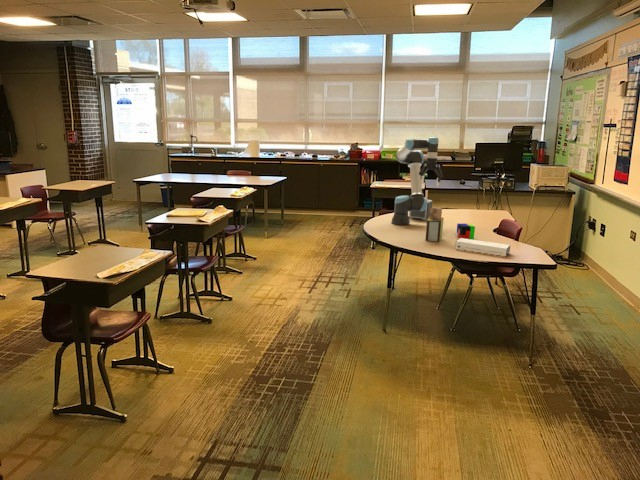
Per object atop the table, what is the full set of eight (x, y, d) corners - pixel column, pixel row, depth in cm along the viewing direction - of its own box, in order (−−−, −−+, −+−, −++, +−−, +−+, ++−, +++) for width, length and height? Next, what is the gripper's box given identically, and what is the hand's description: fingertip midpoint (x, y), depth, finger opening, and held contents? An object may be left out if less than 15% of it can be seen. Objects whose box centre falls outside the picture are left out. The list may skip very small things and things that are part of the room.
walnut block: (429, 218, 369) (430, 208, 367) (434, 217, 373) (434, 207, 371) (436, 219, 365) (437, 209, 363) (441, 218, 369) (442, 208, 367)
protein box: (442, 237, 378) (443, 217, 374) (439, 242, 364) (441, 221, 360) (428, 236, 381) (429, 216, 378) (425, 240, 367) (426, 220, 364)
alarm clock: (432, 218, 446) (434, 198, 442) (427, 221, 435) (428, 200, 431) (413, 216, 456) (414, 196, 451) (407, 218, 445) (409, 198, 440)
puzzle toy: (456, 236, 384) (457, 223, 381) (468, 236, 384) (470, 223, 382) (460, 239, 374) (462, 226, 371) (473, 239, 375) (475, 226, 372)
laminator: (509, 253, 339) (510, 245, 337) (505, 258, 329) (506, 248, 327) (459, 246, 356) (460, 237, 354) (454, 249, 345) (455, 241, 344)
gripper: (415, 156, 389) (413, 183, 394) (444, 159, 373) (441, 187, 378) (420, 156, 395) (418, 182, 400) (449, 158, 378) (446, 186, 383)
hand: (429, 185), depth 389 cm, fingers open, 13 cm apart
